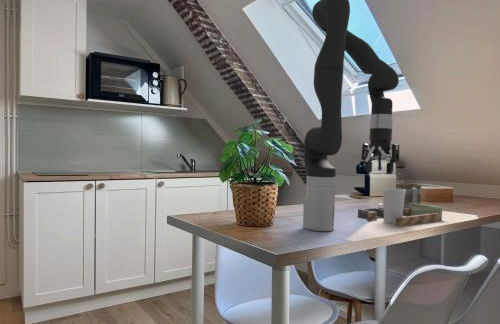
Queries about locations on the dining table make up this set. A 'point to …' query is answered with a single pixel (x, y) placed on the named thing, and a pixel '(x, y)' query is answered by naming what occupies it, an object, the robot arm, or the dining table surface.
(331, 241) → the dining table surface
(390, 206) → the cup
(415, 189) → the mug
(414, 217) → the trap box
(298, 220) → the dining table surface
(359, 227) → the dining table surface
